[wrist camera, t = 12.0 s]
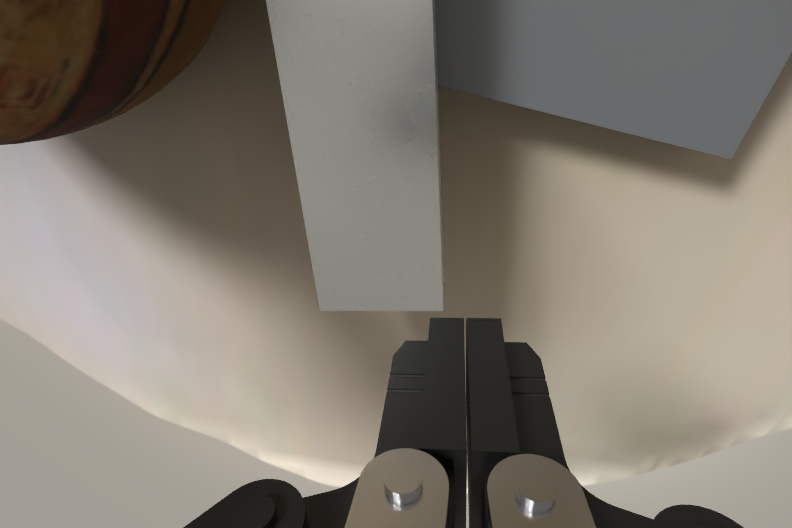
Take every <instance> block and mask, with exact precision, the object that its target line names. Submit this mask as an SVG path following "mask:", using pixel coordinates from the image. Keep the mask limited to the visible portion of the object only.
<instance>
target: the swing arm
mask: <svg viewBox="0 0 792 528" xmlns="http://www.w3.org/2000/svg"><path fill="white" fill-rule="evenodd" d="M266 4H267V10H268V16H269V21H270V27H271V33H272V39H273V44H274V50H275V56H276V62H277V67H278V73H279V79H280V85H281V90H282V96H283V102H284V108H285V114H286V119H287V125H288V131H289V137H290V142H291V148H292V154H293V160H294V165H295V171H296V177H297V183H298V188H299V194H300V200H301V206H302V211H303V217H304V223H305V229H306V234H307V240H308V246H309V252H310V258H311V263H312V269H313V275H314V281H315V286H316V292H317V298H318V304H319V309H320V311H443V307H444V289H445V288H444V258H443V228H442V198H441V168H440V138H439V108H438V78H437V48H436V18H435V0H266Z"/></svg>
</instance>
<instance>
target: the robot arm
mask: <svg viewBox="0 0 792 528" xmlns="http://www.w3.org/2000/svg"><path fill="white" fill-rule="evenodd" d="M466 420H467V438H466ZM467 461H468V500H469V501H468V502H469V528H743V527H742V526H740V525H739V524H737V523H736V522H734V521H733V520H731V519H730V518H728V517H726V516H724V515H722V514H720V513H718V512H715V511H713V510H710V509H707V508H704V507H700V506H694V505H676V506H671V507H669V508H666V509H664V510H663V511H661V512H660V513H659V514H658V515H657V516H656V517H655V518H654V520H653V519H650V518H647V517H644V516H642V515H639V514H635V513H632V512H630V511H627V510H624V509H621V508H618V507H615V506H613V505H610V504H608V503H606V502H604V501H602V500H600V499H598V498H597V497H595V496H594V495H592V494H591V493H589V492H588V491H587V490H586V489H585V488H584V487H582V486H581V485H580V483H579V482H578V480H577V479H576V478H575V477H574V475H573V474H572V473H571V472H570V470H569V468H568V466H567V463H566V461H565V457H564V453H563V449H562V445H561V441H560V436H559V432H558V428H557V424H556V420H555V416H554V412H553V408H552V403H551V399H550V397H549V391H548V387H547V383H546V381H545V375H544V370H543V366H542V362H541V359H540V357H539V356H538V355H537V354H536V353H535V352H534V351H533V349H532V348H531V347H530V346H529V345H528V344H527V343H519V342H504V337H503V330H502V323H501V319H495V318H467V320H466V395H465V353H464V318H430V327H429V339H428V341H405V342H404V344H403V345H402V346H401V347H400V348H399V350H398V351H397V352H396V353H395V354H394V356H393V361H392V367H391V372H390V378H389V383H388V392H387V394H386V400H385V405H384V411H383V416H382V422H381V427H380V432H379V438H378V443H377V449H376V453H375V456H374V459H373V460H371V461H370V462H369V463H368V464H367V465H366V467H365V468H364V470H363V471H362V473H361V475H360V477H359V478H357V479H356V480H355V481H353V482H351V483H350V484H348V485H346V486H344V487H342V488H339V489H336V490H333V491H329V492H325V493H321V494H317V495H313V496H309V497H304V498H302V496H301V494H300V493H299V491H298V490H297V489H296V488H295V487H293V486H292V485H291V484H289V483H287V482H285V481H281V480H276V479H263V480H258V481H254V482H251V483H248V484H246V485H244V486H242V487H240V488H238V489H237V490H235V491H233V492H232V493H231V494H229V495H228V496H227V497H225V498H224V499H222V500H221V501H220V502H218V503H217V504H215V505H214V506H213V507H211V508H210V509H209V510H207V511H206V512H204V513H203V514H202V515H200V516H199V517H198V518H196V519H195V520H193V521H192V522H191V523H189V524H188V525H186V526H185V527H184V528H466V475H467Z"/></svg>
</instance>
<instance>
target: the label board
mask: <svg viewBox="0 0 792 528" xmlns="http://www.w3.org/2000/svg"><path fill="white" fill-rule="evenodd" d="M435 18H436V48H437V78H438V86H442V87H446V88H449V89H453V90H457V91H461V92H465V93H469V94H473V95H477V96H481V97H485V98H489V99H493V100H497V101H501V102H505V103H509V104H513V105H517V106H521V107H525V108H529V109H533V110H537V111H541V112H545V113H549V114H553V115H557V116H560V117H564V118H568V119H572V120H576V121H580V122H584V123H588V124H592V125H596V126H600V127H604V128H608V129H612V130H616V131H620V132H624V133H628V134H632V135H636V136H640V137H644V138H648V139H652V140H656V141H660V142H664V143H668V144H671V145H675V146H679V147H683V148H687V149H691V150H695V151H699V152H703V153H707V154H711V155H715V156H719V157H723V158H727V159H732V157H733V155H734V153H735V152H736V150H737V148H738V146H739V145H740V143H741V141H742V139H743V138H744V136H745V134H746V132H747V131H748V129H749V127H750V125H751V124H752V122H753V120H754V118H755V117H756V115H757V113H758V111H759V109H760V108H761V106H762V104H763V102H764V101H765V99H766V97H767V95H768V94H769V92H770V90H771V88H772V87H773V85H774V83H775V81H776V80H777V78H778V76H779V74H780V73H781V71H782V69H783V67H784V66H785V64H786V62H787V60H788V59H789V57H790V55H791V53H792V0H435Z"/></svg>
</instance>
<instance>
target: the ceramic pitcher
mask: <svg viewBox="0 0 792 528" xmlns="http://www.w3.org/2000/svg"><path fill="white" fill-rule="evenodd" d="M224 1H225V0H0V145H5V144H18V143H24V142H31V141H38V140H45V139H49V138H53V137H57V136H61V135H65V134H69V133H72V132H76V131H79V130H82V129H85V128H88V127H91V126H93V125H96V124H99V123H102V122H104V121H107V120H109V119H111V118H114V117H116V116H118V115H120V114H123V113H125V112H126V111H128V110H130V109H132V108H133V107H135V106H137V105H138V104H140V103H142V102H143V101H145V100H147V99H149V98H150V97H152V96H153V95H154V94H156V93H157V92H158V91H160V90H161V89H162V88H163V87H164V86H166V85H167V84H168V83H169V82H170V81H171V80H173V79H174V78H175V77H176V76H177V75H178V74H179V73H181V72H182V70H183V69H184V68H185V67H186V66H187V65H188V64H189V63H190V62H191V61H192V60H193V59H194V58H195V56H196V55H197V54H198V53H199V51H200V50H201V48H202V47H203V45H204V44H205V42H206V40H207V39H208V37H209V36H210V33H211V31H212V29H213V26H214V24H215V22H216V19H217V17H218V15H219V12H220V10H221V8H222V6H223V3H224Z"/></svg>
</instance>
